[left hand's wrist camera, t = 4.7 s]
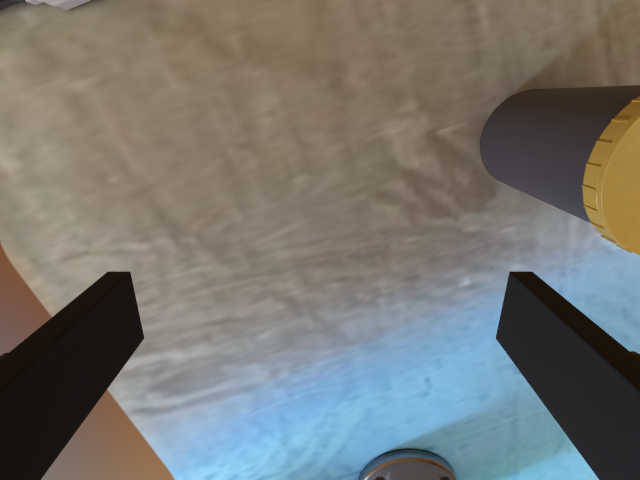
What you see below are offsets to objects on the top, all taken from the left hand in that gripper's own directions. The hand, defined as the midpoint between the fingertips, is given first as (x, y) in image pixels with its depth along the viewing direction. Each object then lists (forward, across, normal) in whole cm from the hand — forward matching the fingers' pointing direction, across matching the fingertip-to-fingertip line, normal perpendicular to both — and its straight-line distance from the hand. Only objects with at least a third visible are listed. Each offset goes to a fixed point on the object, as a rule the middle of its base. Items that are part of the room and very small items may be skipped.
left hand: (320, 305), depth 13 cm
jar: (+28, -22, -3) cm, 35 cm away
